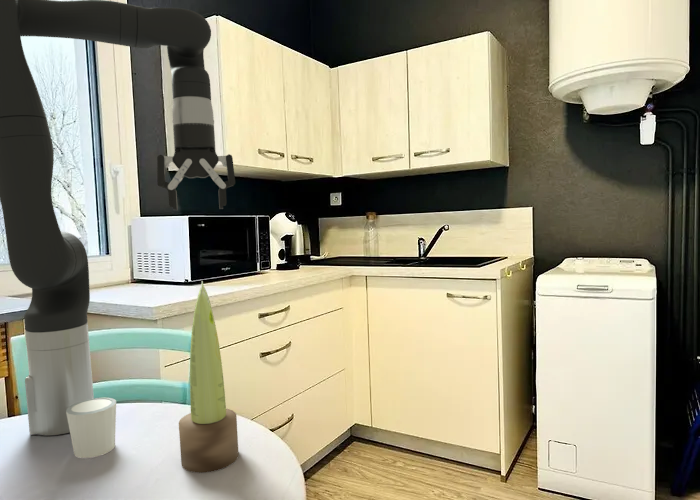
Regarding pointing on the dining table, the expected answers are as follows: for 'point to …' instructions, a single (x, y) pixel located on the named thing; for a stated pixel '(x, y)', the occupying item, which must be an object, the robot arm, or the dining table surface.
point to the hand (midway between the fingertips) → (198, 209)
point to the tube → (205, 365)
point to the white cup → (92, 426)
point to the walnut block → (208, 443)
